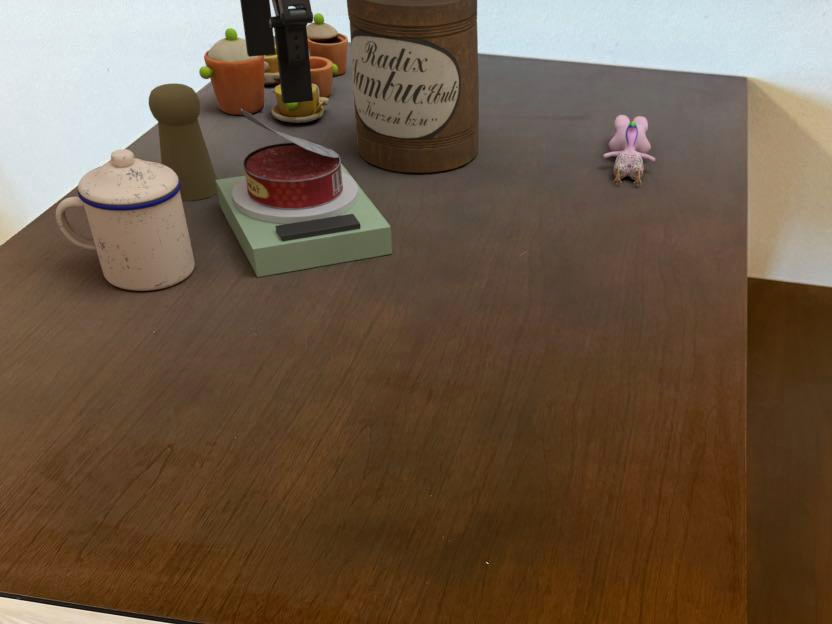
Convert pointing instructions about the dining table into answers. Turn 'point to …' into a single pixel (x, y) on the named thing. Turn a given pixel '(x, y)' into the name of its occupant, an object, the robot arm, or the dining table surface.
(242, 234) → the kitchen scale
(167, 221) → the teacup with lid
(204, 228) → the dining table surface
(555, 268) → the dining table surface
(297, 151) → the canned food
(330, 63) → the toy tea set
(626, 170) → the pink plush toy
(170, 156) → the pepper mill
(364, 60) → the wooden container
